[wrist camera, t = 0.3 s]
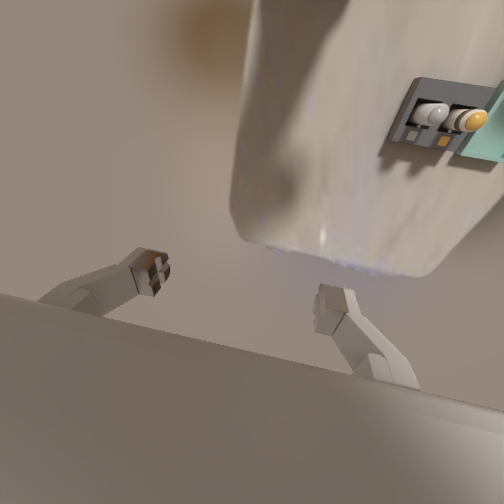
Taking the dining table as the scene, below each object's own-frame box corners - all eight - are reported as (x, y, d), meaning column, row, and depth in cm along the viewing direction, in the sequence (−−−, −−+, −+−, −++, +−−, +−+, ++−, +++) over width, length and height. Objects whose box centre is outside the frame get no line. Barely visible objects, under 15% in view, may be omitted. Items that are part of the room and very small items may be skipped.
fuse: (412, 102, 41) (435, 101, 34) (429, 105, 40) (456, 105, 34) (403, 121, 43) (423, 124, 36) (419, 124, 42) (442, 128, 35)
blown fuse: (444, 107, 40) (474, 107, 33) (462, 110, 40) (496, 111, 33) (433, 126, 42) (459, 131, 35) (450, 129, 42) (480, 134, 35)
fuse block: (414, 78, 39) (422, 76, 36) (484, 89, 38) (497, 88, 35) (386, 138, 45) (391, 140, 42) (446, 149, 44) (455, 151, 41)
